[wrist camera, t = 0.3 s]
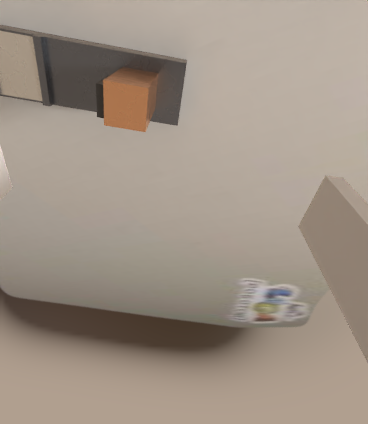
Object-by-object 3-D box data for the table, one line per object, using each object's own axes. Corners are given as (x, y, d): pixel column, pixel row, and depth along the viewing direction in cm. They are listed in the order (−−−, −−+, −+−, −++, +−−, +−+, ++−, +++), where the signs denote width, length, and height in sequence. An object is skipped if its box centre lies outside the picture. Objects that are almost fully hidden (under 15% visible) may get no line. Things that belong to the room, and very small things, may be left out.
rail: (-22, 20, 29) (-113, 20, 21) (186, 60, 31) (184, 75, 22) (-5, 86, 34) (-75, 110, 25) (178, 118, 35) (173, 151, 26)
